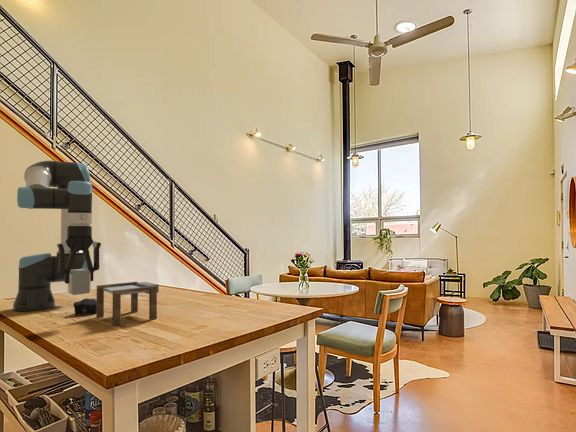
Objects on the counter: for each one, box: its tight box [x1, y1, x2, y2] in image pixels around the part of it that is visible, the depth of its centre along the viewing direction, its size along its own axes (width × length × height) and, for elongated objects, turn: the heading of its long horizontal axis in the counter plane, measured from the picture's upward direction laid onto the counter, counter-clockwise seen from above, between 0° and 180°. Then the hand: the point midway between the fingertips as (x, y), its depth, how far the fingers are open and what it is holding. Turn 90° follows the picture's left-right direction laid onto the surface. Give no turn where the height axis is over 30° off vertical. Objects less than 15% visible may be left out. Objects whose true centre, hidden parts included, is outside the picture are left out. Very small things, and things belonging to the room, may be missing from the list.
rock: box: [73, 298, 97, 316], centre depth 152 cm, size 10×9×6 cm
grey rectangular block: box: [69, 269, 90, 296], centre depth 131 cm, size 6×5×8 cm
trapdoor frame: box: [95, 281, 158, 327], centre depth 141 cm, size 20×15×12 cm
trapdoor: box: [104, 281, 160, 296], centre depth 143 cm, size 15×16×3 cm
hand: (79, 291), depth 131 cm, fingers closed on grey rectangular block, 5 cm apart
